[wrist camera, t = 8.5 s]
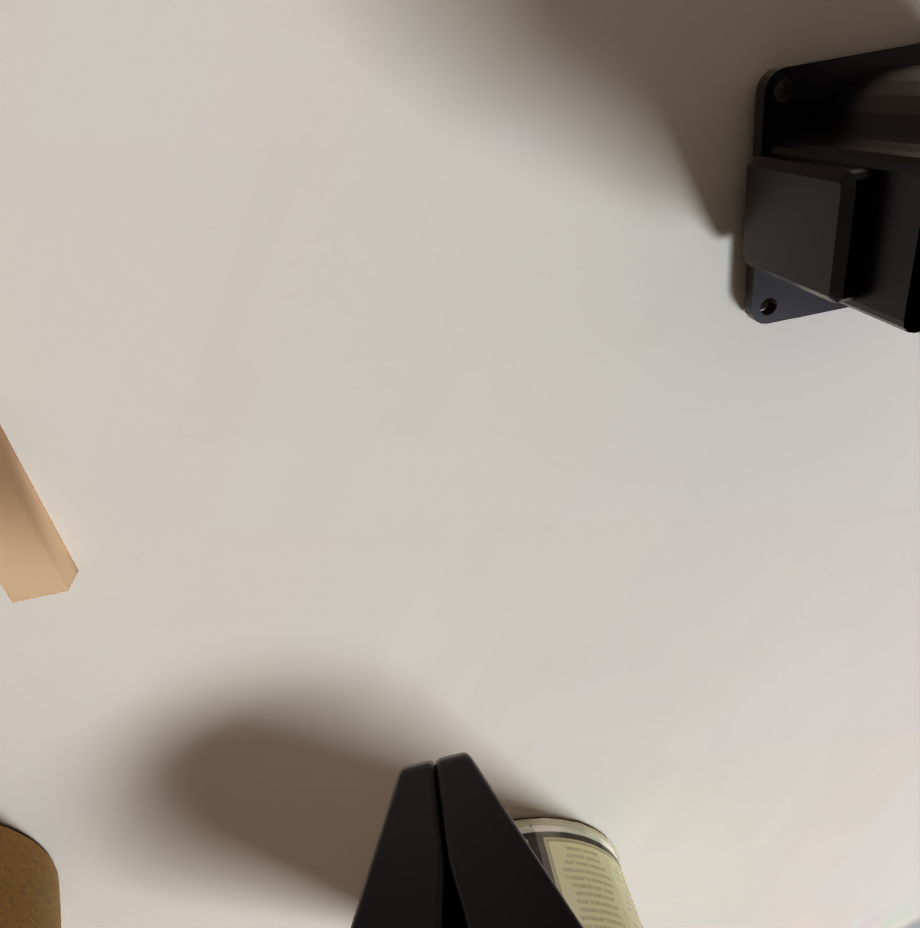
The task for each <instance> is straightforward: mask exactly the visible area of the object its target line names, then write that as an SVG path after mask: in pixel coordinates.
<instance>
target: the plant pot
mask: <svg viewBox="0 0 920 928" xmlns="http://www.w3.org/2000/svg"><path fill="white" fill-rule="evenodd" d="M0 928H61V910H60V893H59V879H58V873H57V870H56V867H55V865H54V864H53V862H52V860H51V858H50V857H49V856H48V854H47V853H46V852H45V851H44V850H43V849H42V848H41V847H40V846H39V845H38V844H36V843H35V842H34V841H32V840H31V839H29V838H27V837H26V836H24V835H22V834H20V833H18V832H16V831H14V830H12V829H10V828H7V827H4V826H1V825H0Z"/></svg>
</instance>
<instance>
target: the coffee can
mask: <svg viewBox="0 0 920 928" xmlns="http://www.w3.org/2000/svg"><path fill="white" fill-rule="evenodd" d="M514 823H515V824H516V826H517V827H518V829H519V830H520V832H521V833H522V835H523V836H524V838H525V839H526V841H527V843H528V844H529V846H530V847H531V849H532V850H533V852H534V853H535V855H536V856H537V858H538V859H539V861H540V862H541V864H542V865H543V867H544V868H545V870H546V871H547V873H548V874H549V876H550V877H551V879H552V880H553V882H554V883H555V885H556V887H557V888H558V890H559V891H560V893H561V894H562V896H563V897H564V899H565V900H566V902H567V903H568V905H569V906H570V908H571V909H572V911H573V912H574V914H575V915H576V917H577V918H578V920H579V921H580V923H581V924H582V926H583V927H584V928H643V927H642V924H641V922H640V919H639V916H638V914H637V911H636V908H635V905H634V903H633V900H632V897H631V895H630V892H629V889H628V886H627V884H626V881H625V878H624V875H623V872H622V869H621V866H620V861H619V856H618V854H617V851H616V849H615V847H614V846H613V844H612V843H611V842H610V841H609V840H608V838H606V837H605V836H604V835H603V834H601V833H600V832H598V831H597V830H595V829H593V828H591V827H588V826H586V825H584V824H581V823H579V822H572V821H567V820H562V819H552V818H537V819H521V820H515V821H514Z"/></svg>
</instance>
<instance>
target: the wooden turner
mask: <svg viewBox="0 0 920 928" xmlns="http://www.w3.org/2000/svg"><path fill="white" fill-rule="evenodd" d="M77 573H78V569H77V567H76V565H75V563H74V562H73V560H72V558H71V556H70V554H69V552H68V550H67V548H66V547H65V545H64V543H63V541H62V539H61V537H60V535H59V534H58V532H57V530H56V528H55V526H54V524H53V522H52V520H51V519H50V517H49V515H48V513H47V511H46V509H45V507H44V506H43V504H42V502H41V500H40V498H39V496H38V494H37V492H36V491H35V489H34V487H33V485H32V483H31V481H30V479H29V478H28V476H27V474H26V472H25V470H24V468H23V466H22V464H21V463H20V461H19V459H18V457H17V455H16V453H15V451H14V450H13V448H12V446H11V444H10V442H9V440H8V438H7V437H6V435H5V433H4V431H3V429H2V427H1V425H0V583H1V585H2V586H3V588H4V590H5V591H6V593H7V595H8V596H9V598H10V599H11V601H12V603H13V602H18V601H22V600H27V599H32V598H36V597H41V596H46V595H50V594H55V593H60V592H64V591H68V590H69V588H70V586H71V584H72V582H73V580H74V579H75V577H76V575H77Z"/></svg>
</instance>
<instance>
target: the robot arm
mask: <svg viewBox="0 0 920 928" xmlns="http://www.w3.org/2000/svg"><path fill="white" fill-rule="evenodd" d="M780 80H782V81H783V82H784V87H785V89H784V93H783V95H782V96H781V98H780V99H779V100H776V99H775V96H774V90H775V86H776V85H777V83H778V82H779V81H780ZM743 260H744V261H745V262H746V263H747V275H746V294H745V311H746V313H747V315H748V316H749V317H750V318H752V319H754V320H755V321H757V322H759V323H772V322H777V321H782V320H787V319H792V318H797V317H802V316H807V315H812V314H817V313H821V312H826V311H831V310H836V309H841V308H846V307H851V308H853V309H855V310H858V311H860V312H862V313H865V314H867V315H869V316H872V317H874V318H876V319H879V320H881V321H883V322H886V323H888V324H890V325H893V326H895V327H897V328H900V329H902V330H904V331H907V332H912V333H916V332H919V333H920V42H915V43H910V44H904V45H899V46H893V47H888V48H882V49H876V50H871V51H865V52H860V53H854V54H849V55H843V56H838V57H832V58H827V59H821V60H815V61H810V62H804V63H799V64H793V65H788V66H782V67H777V68H774V69H772V70H769V71H768V72H767V73H766V74H765V75H764V76H763V77H762V78H761V80H760V82H759V84H758V87H757V91H756V104H755V123H754V142H753V159H752V161H751V162H750V164H749V166H748V167H747V178H746V198H745V218H744V238H743ZM768 298H769V300H770V302H769V305H768V307H767V308H766V309H765V310H763V311H760V307H761V304H762V303H763V301H764V300H766V299H768ZM351 928H584V927H583V926H582V924H581V923H580V921H579V920H578V918H577V917H576V915H575V914H574V912H573V911H572V909H571V908H570V906H569V905H568V903H567V902H566V900H565V899H564V897H563V896H562V894H561V893H560V891H559V890H558V888H557V887H556V885H555V883H554V882H553V880H552V879H551V877H550V876H549V874H548V873H547V871H546V870H545V868H544V867H543V865H542V864H541V862H540V861H539V859H538V858H537V856H536V855H535V853H534V852H533V850H532V849H531V847H530V846H529V844H528V843H527V841H526V839H525V838H524V836H523V835H522V833H521V832H520V830H519V829H518V827H517V826H516V824H515V823H514V821H513V820H512V818H511V817H510V815H509V814H508V812H507V811H506V809H505V808H504V806H503V805H502V803H501V802H500V800H499V799H498V797H497V796H496V794H495V792H494V791H493V789H492V788H491V786H490V785H489V783H488V782H487V780H486V779H485V777H484V776H483V774H482V773H481V771H480V770H479V768H478V767H477V765H476V764H475V762H474V761H473V759H472V758H471V756H470V755H468V754H467V753H458V754H454V755H450V756H446V757H441V758H439V759H438V760H437V762H436V766H435V763H434V762H432V761H424V762H420V763H416V764H412V765H407V766H405V767H403V768H402V769H401V771H400V773H399V775H398V778H397V781H396V784H395V787H394V790H393V794H392V797H391V800H390V803H389V806H388V810H387V813H386V816H385V819H384V823H383V826H382V829H381V832H380V835H379V839H378V842H377V845H376V848H375V851H374V855H373V858H372V861H371V864H370V867H369V871H368V874H367V877H366V880H365V883H364V887H363V890H362V893H361V896H360V900H359V903H358V906H357V909H356V912H355V916H354V919H353V922H352V925H351Z"/></svg>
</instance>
